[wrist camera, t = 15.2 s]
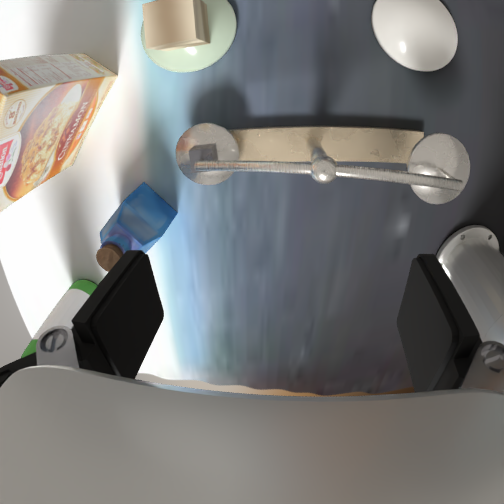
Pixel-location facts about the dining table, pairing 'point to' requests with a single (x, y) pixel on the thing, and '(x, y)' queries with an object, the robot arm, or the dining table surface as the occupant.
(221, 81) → the dining table surface
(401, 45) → the white dish
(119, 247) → the perfume bottle
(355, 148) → the balance scale
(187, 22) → the birch block
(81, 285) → the wine bottle
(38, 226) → the dining table surface
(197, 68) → the sage dish
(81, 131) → the coffeecake box
